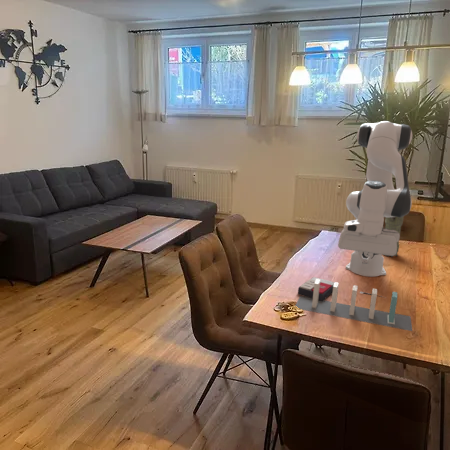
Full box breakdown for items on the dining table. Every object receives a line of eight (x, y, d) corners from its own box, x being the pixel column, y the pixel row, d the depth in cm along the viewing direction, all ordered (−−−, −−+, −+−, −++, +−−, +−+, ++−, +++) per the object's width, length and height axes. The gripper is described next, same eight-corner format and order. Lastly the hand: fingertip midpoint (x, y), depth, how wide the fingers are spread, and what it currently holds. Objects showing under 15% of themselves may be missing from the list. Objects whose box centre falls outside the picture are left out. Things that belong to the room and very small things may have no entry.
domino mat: (299, 297, 173) (299, 295, 172) (410, 318, 159) (410, 316, 159) (294, 309, 162) (294, 307, 162) (412, 333, 148) (412, 330, 148)
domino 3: (349, 314, 158) (352, 290, 156) (350, 309, 163) (353, 285, 160) (353, 315, 158) (356, 290, 155) (354, 309, 162) (357, 285, 160)
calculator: (298, 285, 173) (313, 275, 185) (297, 295, 174) (312, 284, 186) (323, 292, 167) (337, 281, 179) (322, 302, 168) (336, 290, 180)
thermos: (398, 252, 235) (408, 191, 226) (396, 258, 225) (406, 194, 216) (381, 249, 239) (390, 189, 230) (379, 255, 229) (388, 192, 220)
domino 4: (368, 318, 156) (372, 293, 153) (369, 312, 160) (372, 288, 158) (373, 319, 155) (376, 294, 153) (373, 313, 160) (377, 289, 157)
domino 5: (388, 321, 154) (392, 296, 151) (388, 316, 158) (392, 291, 155) (393, 322, 153) (397, 297, 150) (393, 316, 158) (397, 292, 155)
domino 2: (330, 310, 160) (333, 286, 158) (331, 305, 165) (334, 281, 162) (334, 311, 160) (337, 287, 157) (335, 306, 164) (338, 282, 162)
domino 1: (311, 307, 163) (314, 283, 160) (313, 302, 167) (316, 278, 165) (316, 308, 162) (318, 284, 160) (317, 302, 167) (320, 279, 164)
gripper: (400, 228, 150) (394, 264, 154) (341, 221, 156) (337, 256, 160) (401, 232, 144) (395, 270, 148) (340, 225, 151) (335, 261, 154)
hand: (364, 263), depth 154 cm, fingers closed
